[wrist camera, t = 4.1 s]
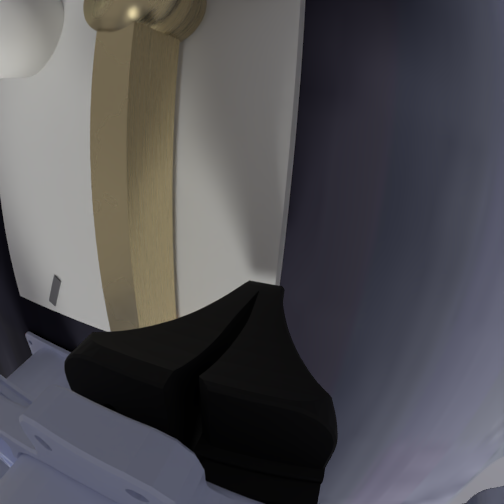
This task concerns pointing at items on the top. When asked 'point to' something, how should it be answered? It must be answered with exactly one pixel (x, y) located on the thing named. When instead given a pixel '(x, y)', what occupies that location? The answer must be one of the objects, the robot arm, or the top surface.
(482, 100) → the top surface
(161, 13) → the adjusting lever
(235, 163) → the base
